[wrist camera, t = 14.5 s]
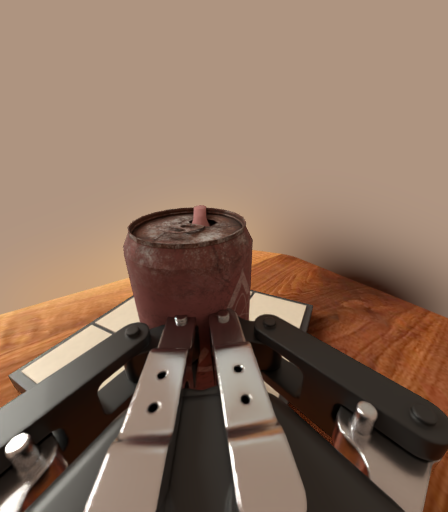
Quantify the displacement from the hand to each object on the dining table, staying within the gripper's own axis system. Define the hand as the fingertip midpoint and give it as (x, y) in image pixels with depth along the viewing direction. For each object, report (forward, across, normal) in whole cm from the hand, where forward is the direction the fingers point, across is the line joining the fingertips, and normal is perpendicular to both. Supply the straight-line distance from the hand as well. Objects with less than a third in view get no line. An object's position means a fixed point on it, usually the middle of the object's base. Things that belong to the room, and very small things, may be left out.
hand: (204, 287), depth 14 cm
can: (-1, 0, +10) cm, 10 cm away
